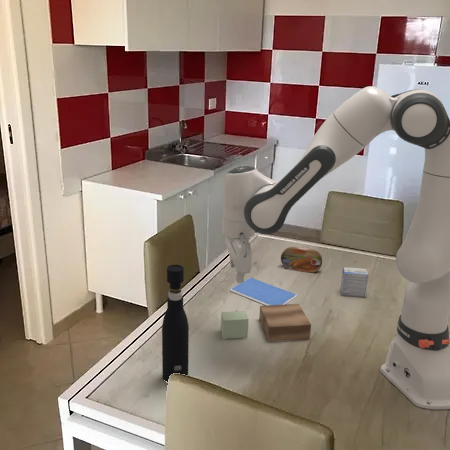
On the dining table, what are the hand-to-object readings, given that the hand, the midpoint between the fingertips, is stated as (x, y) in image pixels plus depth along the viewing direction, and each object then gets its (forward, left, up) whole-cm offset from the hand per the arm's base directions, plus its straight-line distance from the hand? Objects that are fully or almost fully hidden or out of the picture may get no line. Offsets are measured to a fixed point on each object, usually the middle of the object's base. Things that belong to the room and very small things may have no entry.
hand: (236, 273), depth 142 cm
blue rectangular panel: (+23, -14, -20) cm, 33 cm away
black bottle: (-18, +18, -19) cm, 32 cm away
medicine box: (+20, -44, -19) cm, 52 cm away
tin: (+40, -32, -19) cm, 55 cm away
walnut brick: (+1, -15, -19) cm, 25 cm away
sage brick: (0, 0, -19) cm, 19 cm away
